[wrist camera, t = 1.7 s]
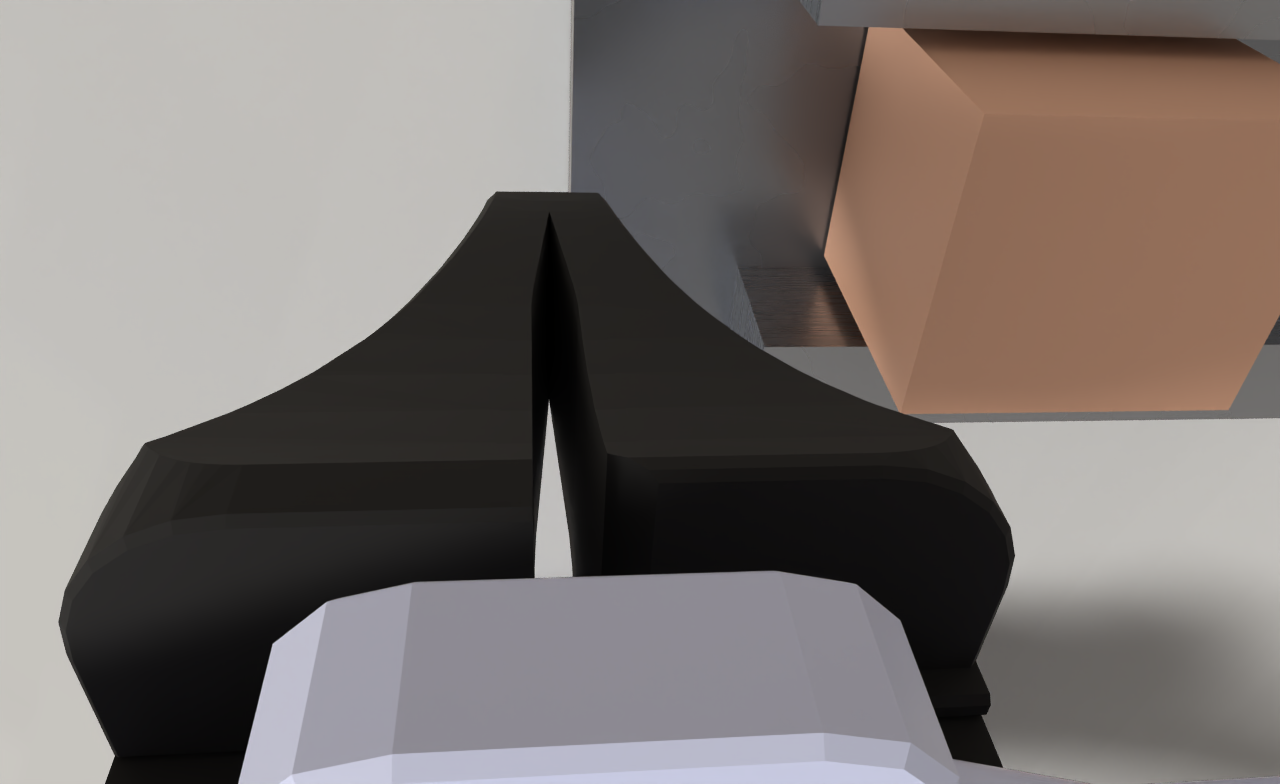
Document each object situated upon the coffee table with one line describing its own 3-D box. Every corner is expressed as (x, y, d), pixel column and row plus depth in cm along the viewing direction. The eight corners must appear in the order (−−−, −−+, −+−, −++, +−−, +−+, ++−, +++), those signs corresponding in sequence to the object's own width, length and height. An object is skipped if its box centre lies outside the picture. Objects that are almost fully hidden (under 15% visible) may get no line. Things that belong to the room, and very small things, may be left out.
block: (1089, 257, 18) (1229, 409, 14) (823, 255, 17) (900, 413, 14) (1184, 10, 15) (1383, 122, 12) (873, -1, 15) (984, 113, 11)
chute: (1554, 345, 22) (1703, 447, 19) (565, 350, 20) (572, 468, 17) (1940, -165, 16) (2238, -123, 13) (575, -247, 13) (588, -217, 11)
